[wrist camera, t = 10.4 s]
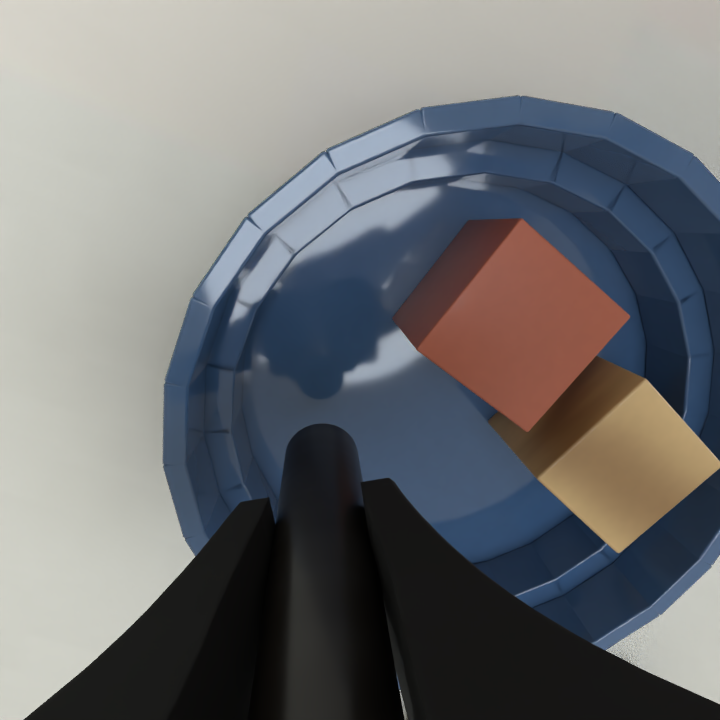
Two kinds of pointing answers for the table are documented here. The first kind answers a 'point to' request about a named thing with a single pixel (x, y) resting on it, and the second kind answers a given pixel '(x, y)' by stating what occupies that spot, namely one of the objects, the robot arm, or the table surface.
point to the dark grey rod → (323, 595)
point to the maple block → (612, 452)
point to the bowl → (424, 378)
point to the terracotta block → (509, 317)
